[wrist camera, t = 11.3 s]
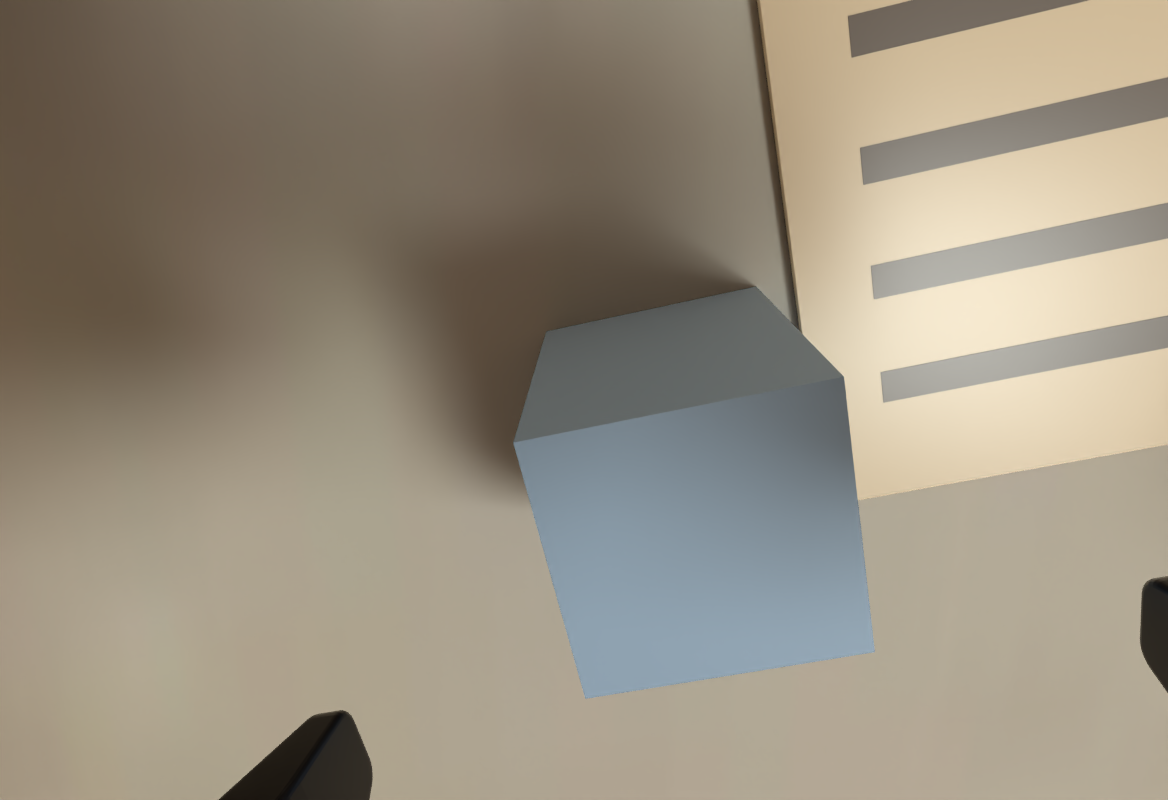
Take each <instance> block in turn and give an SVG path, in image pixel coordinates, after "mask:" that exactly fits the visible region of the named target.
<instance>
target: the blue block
mask: <svg viewBox="0 0 1168 800" xmlns="http://www.w3.org/2000/svg"><path fill="white" fill-rule="evenodd" d="M513 444H514V447H515V451H516V454H517V458H518V461H519V465H520V469H521V472H522V476H523V479H524V483H525V486H526V490H527V493H528V497H529V500H530V504H531V508H532V511H533V515H534V518H535V522H536V525H537V529H538V532H539V536H540V539H541V543H542V546H543V550H544V554H545V557H546V561H547V564H548V568H549V571H550V575H551V578H552V582H553V585H554V589H555V593H556V596H557V600H558V603H559V607H560V610H561V614H562V617H563V621H564V624H565V628H566V632H567V635H568V639H569V642H570V646H571V649H572V653H573V656H574V660H575V663H576V667H577V671H578V674H579V678H580V681H581V685H582V688H583V692H584V695H585V699H586V698H593V697H599V696H605V695H611V694H618V693H624V692H630V691H636V690H642V689H649V688H655V687H661V686H667V685H673V684H680V683H686V682H692V681H698V680H704V679H711V678H717V677H723V676H729V675H735V674H742V673H748V672H754V671H760V670H766V669H773V668H779V667H785V666H791V665H798V664H804V663H810V662H816V661H822V660H829V659H835V658H841V657H847V656H853V655H860V654H866V653H872V652H875V650H874V641H873V632H872V623H871V614H870V605H869V596H868V587H867V578H866V569H865V560H864V551H863V542H862V533H861V524H860V515H859V507H858V498H857V489H856V480H855V471H854V462H853V453H852V444H851V435H850V426H849V417H848V408H847V399H846V390H845V381H844V376H843V375H842V374H841V373H840V372H839V371H838V370H837V369H836V368H835V367H834V366H833V365H832V364H831V363H830V362H829V361H828V360H827V359H826V358H825V357H824V356H823V355H822V354H821V353H820V352H819V351H818V350H817V349H816V347H815V346H814V345H813V344H812V343H811V342H810V341H809V340H808V339H807V338H806V337H805V336H804V335H803V334H802V333H801V332H800V331H799V330H798V329H797V328H796V327H795V326H794V325H793V324H792V323H791V322H790V321H789V320H788V319H787V318H786V317H785V316H784V315H783V314H782V313H781V312H780V311H779V310H778V309H777V308H776V307H775V306H774V305H773V303H772V302H771V301H770V300H769V299H768V298H767V297H766V296H765V295H764V294H763V293H762V292H761V291H760V290H759V289H758V288H757V287H751V288H747V289H742V290H737V291H733V292H728V293H723V294H719V295H714V296H709V297H705V298H700V299H695V300H691V301H686V302H681V303H677V304H672V305H667V306H663V307H658V308H653V309H649V310H644V311H640V312H635V313H630V314H626V315H621V316H616V317H612V318H607V319H602V320H598V321H593V322H588V323H584V324H579V325H574V326H570V327H565V328H560V329H556V330H551V331H546V334H545V338H544V341H543V344H542V348H541V351H540V354H539V358H538V361H537V364H536V368H535V371H534V374H533V378H532V381H531V385H530V388H529V391H528V395H527V398H526V401H525V405H524V408H523V411H522V415H521V418H520V422H519V425H518V428H517V432H516V435H515V438H514V442H513Z"/></svg>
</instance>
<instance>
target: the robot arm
mask: <svg viewBox="0 0 1168 800" xmlns="http://www.w3.org/2000/svg"><path fill="white" fill-rule="evenodd" d="M1140 644H1141V649H1142V653H1143V655H1144V658H1145V660H1146V662H1147V664H1148V665H1149V667H1150V668H1151V670H1152V671H1153V673H1154V674H1155V676H1156V677H1157V678H1158V680H1159V681H1160V683H1161V684H1162V685H1163V687H1164V688H1165V690H1166V691H1167V693H1168V576H1165V577H1159V578H1153V579H1151V580H1149V581H1147V582H1146V583H1145V585H1144V587H1143V589H1142V602H1141V628H1140ZM371 787H372V766H371V761H370V758H369V756H368V753H367V751H366V749H365V746H364V744H363V741H362V739H361V736H360V734H359V732H358V729H357V727H356V724H355V722H354V720H353V718H352V716H351V715H350V714H349V713H348V712H346V711H343V710H340V711H334V712H327V713H321V714H317V715H314V716H312V717H310V718H309V719H308V720H307V721H305V722H304V723H303V724H302V725H301V726H300V727H299V728H298V729H297V730H295V731H294V732H293V733H292V734H291V735H290V736H289V737H288V738H287V739H285V740H284V741H283V742H282V743H281V744H280V745H279V746H278V747H277V748H275V749H274V750H273V751H272V752H271V753H270V754H269V755H268V756H267V757H265V758H264V759H263V760H262V761H261V762H260V763H259V764H258V765H257V766H255V767H254V768H253V769H252V770H251V771H250V772H249V773H248V774H247V775H245V776H244V777H243V778H242V779H241V780H240V781H239V782H238V783H237V784H235V785H234V786H233V787H232V788H231V789H230V790H229V791H228V792H227V793H225V794H224V795H223V796H222V797H221V798H220V799H219V800H369V798H370V793H371Z"/></svg>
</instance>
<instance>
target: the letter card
mask: <svg viewBox="0 0 1168 800" xmlns="http://www.w3.org/2000/svg"><path fill="white" fill-rule="evenodd" d="M757 5H758V13H759V20H760V28H761V36H762V44H763V51H764V59H765V67H766V75H767V82H768V90H769V98H770V106H771V113H772V121H773V129H774V137H775V144H776V152H777V160H778V168H779V176H780V183H781V191H782V199H783V207H784V214H785V222H786V230H787V238H788V245H789V253H790V261H791V269H792V276H793V284H794V292H795V300H796V307H797V315H798V323H799V331H800V332H801V333H802V334H803V335H804V336H805V337H806V338H807V339H808V340H809V341H810V342H811V343H812V344H813V345H814V346H815V347H816V349H817V350H818V351H819V352H820V353H821V354H822V355H823V356H824V357H825V358H826V359H827V360H828V361H829V362H830V363H831V364H832V365H833V366H834V367H835V368H836V369H837V370H838V371H839V372H840V373H841V374H842V375H843V376H844V381H845V390H846V399H847V408H848V417H849V426H850V435H851V444H852V453H853V462H854V471H855V480H856V489H857V498H858V500H863V499H869V498H874V497H880V496H885V495H891V494H896V493H902V492H908V491H913V490H919V489H924V488H930V487H935V486H941V485H946V484H952V483H957V482H963V481H968V480H974V479H980V478H985V477H991V476H996V475H1002V474H1007V473H1013V472H1018V471H1024V470H1029V469H1035V468H1041V467H1046V466H1052V465H1057V464H1063V463H1068V462H1074V461H1079V460H1085V459H1090V458H1096V457H1102V456H1107V455H1113V454H1118V453H1124V452H1129V451H1135V450H1140V449H1146V448H1151V447H1157V446H1162V445H1168V0H757Z"/></svg>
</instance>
